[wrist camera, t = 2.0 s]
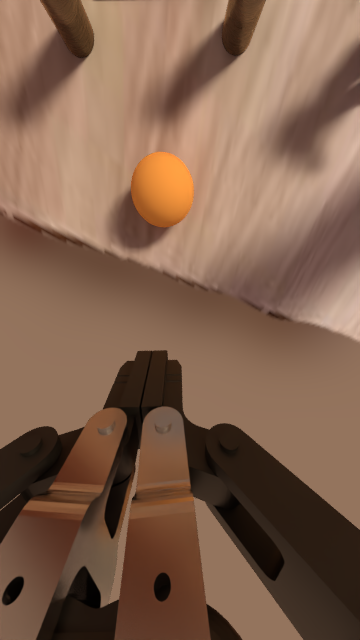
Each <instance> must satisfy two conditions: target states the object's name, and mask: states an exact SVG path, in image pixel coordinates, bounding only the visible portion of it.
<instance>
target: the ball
mask: <svg viewBox="0 0 360 640" xmlns="http://www.w3.org/2000/svg"><path fill="white" fill-rule="evenodd" d="M131 194H132V199H133V203H134V205H135V207H136V209H137V211H138V212H139V214H140V215H141V216H142V217H143V218H144V219H145V220H146V221H147V222H149V223H150V224H152V225H155V226H158V227H170V226H173V225H175V224H177V223H179V222H180V221H181V220H183V219H184V218H185V216H186V215H187V214H188V212H189V210H190V208H191V205H192V202H193V195H194V187H193V181H192V177H191V175H190V172H189V171H188V169H187V167H186V166H185V164H184V163H183V162H182V161H181V160H180V159H179V158H177V157H176V156H174V155H172V154H170V153H166V152H155V153H152V154H150V155H148V156H146V157H145V158H143V159H142V160H141V161H140V162H139V164H138V165H137V167H136V168H135V171H134V173H133V176H132V181H131Z"/></svg>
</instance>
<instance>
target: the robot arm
mask: <svg viewBox="0 0 360 640" xmlns="http://www.w3.org/2000/svg"><path fill="white" fill-rule="evenodd" d="M167 356H168V354H167V351H166V350H164V351H138V352H137V355H136V358H135V361H127V362H126V363H125V364H124V365H123V366H122V367H121V368H120V370H119V372H118V375H117V377H116V379H115V382H114V384H113V386H112V389H111V391H110V393H109V396H108V398H107V400H106V403H105V405H104V408H103V410H101V411H99V412H97V413H96V414H95V415H93V416H92V417H91V418H90V419H89V420H88V422H87V424H86V425H85V427H83V428H80V429H78V430H74V431H71V432H68V433H65V434H61V435H58V434H57V431H56V430H55V429H54V428H52V427H48V426H46V427H45V426H44V427H39V428H36V429H33V430H31V431H29V432H27V433H25V434H23V435H22V436H20V437H19V438H17V439H16V440H14V441H13V442H11V443H9V444H8V445H6V446H5V447H3V448H2V449H0V509H1V508H3V507H4V506H5V505H6V504H8V503H9V502H10V501H11V500H13V499H14V498H15V497H16V496H17V495H19V494H20V495H19V496H18V497H17V498H15V499H14V500H13V501H12V502H10V503H9V504H8V505H7V506H6V507H4V508H3V509H2V510H1V511H0V640H242V639H241V637H240V635H239V634H238V633H237V632H236V631H235V629H234V628H233V627H232V626H231V625H230V623H229V622H228V621H227V620H226V619H225V618H224V617H223V616H222V615H220V614H219V613H218V612H217V611H216V610H215V609H213V608H212V607H211V606H209V605H207V604H206V596H205V589H204V580H203V572H202V563H201V555H200V547H199V539H198V530H197V522H196V513H195V505H194V498H193V497H196V498H198V499H200V500H203V501H205V502H206V504H207V506H208V508H209V509H210V510H211V512H212V513H213V515H214V516H215V517H216V519H217V520H218V522H219V523H220V524H221V526H222V527H223V529H224V530H225V531H226V533H227V534H228V535H229V537H230V538H231V539H232V541H233V542H234V544H235V545H236V547H237V548H238V549H239V551H240V552H241V553H242V555H243V556H244V558H245V559H246V560H247V562H248V563H249V564H250V566H251V567H252V569H253V570H254V572H255V573H256V574H257V576H258V577H259V579H260V580H261V581H262V583H263V584H264V585H265V587H266V588H267V590H268V591H269V592H270V594H271V595H272V596H273V598H274V599H275V601H276V602H277V603H278V605H279V606H280V608H281V609H282V610H283V612H284V613H285V614H286V616H287V617H288V619H289V620H290V621H291V623H292V624H293V625H294V627H295V628H296V630H297V631H298V633H299V634H300V635H301V637H302V638H303V640H360V530H359V529H358V528H357V527H355V526H354V525H353V524H352V523H351V522H349V521H348V520H347V519H346V518H345V517H344V516H343V515H341V514H340V513H339V512H338V511H337V510H335V509H334V508H333V507H332V506H331V505H330V504H328V503H327V502H326V501H325V500H324V499H322V498H321V497H320V496H319V495H318V494H317V493H315V492H314V491H313V490H312V489H310V488H309V487H308V486H307V485H306V484H305V483H303V482H302V481H301V480H300V479H299V478H298V477H296V476H295V475H294V474H293V473H292V472H291V471H289V470H288V469H287V468H286V467H285V466H283V465H282V464H281V463H280V462H279V461H278V460H276V459H275V458H274V457H273V456H271V455H270V454H269V453H268V452H267V451H266V450H264V449H263V448H262V447H261V446H260V445H258V444H257V443H256V442H255V441H254V440H253V439H252V438H250V437H249V436H248V435H247V434H246V433H244V432H243V431H242V430H241V429H239V428H238V427H236V426H234V425H231V424H225V423H224V424H217V425H215V426H213V427H212V428H211V429H210V430H208V429H205V428H202V427H199V426H196V425H194V424H193V423H191V422H190V421H189V420H188V419H187V418H186V417H185V415H184V412H183V406H182V373H181V372H182V370H181V365H180V364H179V362H178V361H177V360H168V357H167ZM138 449H140V456H139V467H138V476H137V486H136V493H135V496H134V497H133V498H132V501H131V506H130V513H129V519H128V528H127V537H126V546H125V554H124V562H123V571H122V580H121V588H120V596H119V600H117V601H114V602H112V603H110V604H109V599H110V595H111V591H112V586H113V582H114V576H115V571H116V564H117V550H118V542H119V537H120V532H121V528H122V524H123V520H124V516H125V511H126V508H127V504H128V500H129V495H130V491H131V487H132V483H133V479H134V475H135V470H136V466H135V462H136V456H137V451H138Z"/></svg>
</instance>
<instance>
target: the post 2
mask: <svg viewBox="0 0 360 640" xmlns="http://www.w3.org/2000/svg"><path fill="white" fill-rule="evenodd" d="M265 1H266V0H229V1H228V6H227V10H226V15H225V19H224V24H223V29H222V40H223V44H224V47H225V49H226V50H227V51H228V52H229V53H230V54H232V55H239V54H241V53H243V52H244V51H245V50H246V49H247V47H248V45H249V43H250V41H251V38H252V36H253V33H254V30H255V28H256V25H257V22H258V20H259V17H260V14H261V12H262V9H263V7H264V4H265Z"/></svg>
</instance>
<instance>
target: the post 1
mask: <svg viewBox="0 0 360 640" xmlns="http://www.w3.org/2000/svg"><path fill="white" fill-rule="evenodd" d="M40 1H41V3H42V5H43V6H44V8H45V10H46V11H47V13H48V15H49V17H50V18H51V20H52V22H53V23H54V25H55V27H56V28H57V30H58V32H59V33H60V35H61V37H62V39H63V40H64V42H65V44H66V45H67V47H68V49H69V50H70V51H71V52H72V53H73V54H74V55H75V56H77V57H86V56H88V55H89V54H90V52H91V51H92V48H93V45H94V34H93V29H92V26H91V24H90V21H89V19H88V17H87V14H86V12H85V9H84V7H83V5H82V2H81V0H40Z"/></svg>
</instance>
